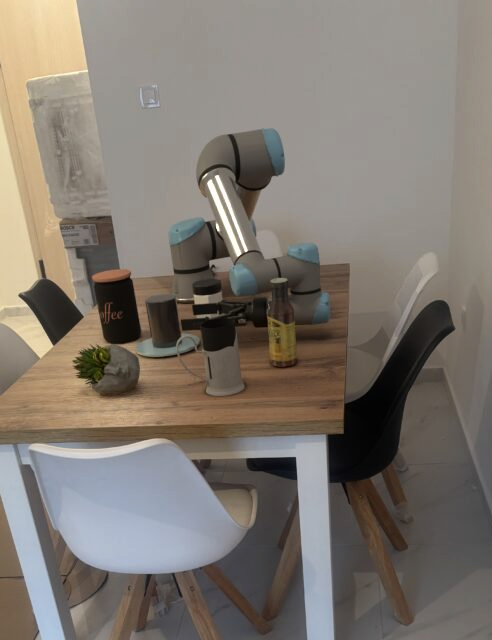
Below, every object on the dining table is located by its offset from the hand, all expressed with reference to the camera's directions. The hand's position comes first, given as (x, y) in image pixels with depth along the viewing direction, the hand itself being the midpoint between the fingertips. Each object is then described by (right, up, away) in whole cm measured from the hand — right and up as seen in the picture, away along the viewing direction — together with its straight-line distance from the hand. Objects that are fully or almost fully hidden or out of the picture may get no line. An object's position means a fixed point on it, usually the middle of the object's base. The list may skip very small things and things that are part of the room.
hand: (187, 317), depth 199 cm
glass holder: (+7, -24, -27) cm, 36 cm away
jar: (+6, +3, +20) cm, 21 cm away
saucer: (-5, -7, +5) cm, 10 cm away
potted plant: (-17, -23, -19) cm, 34 cm away
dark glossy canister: (-5, -6, +5) cm, 9 cm away
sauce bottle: (+24, -15, -16) cm, 33 cm away
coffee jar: (-19, -2, +18) cm, 26 cm away
